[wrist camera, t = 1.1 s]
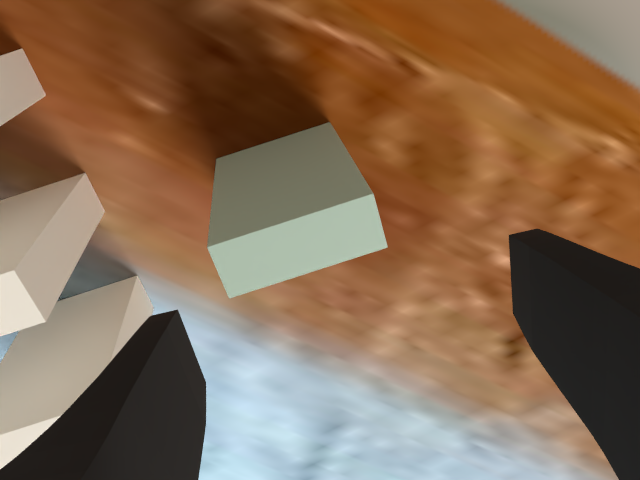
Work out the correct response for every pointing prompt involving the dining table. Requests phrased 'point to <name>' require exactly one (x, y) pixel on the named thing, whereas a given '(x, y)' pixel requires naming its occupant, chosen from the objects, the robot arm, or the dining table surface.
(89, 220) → the domino
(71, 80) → the dining table surface
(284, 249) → the domino
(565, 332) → the robot arm
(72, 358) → the domino
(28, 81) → the domino
